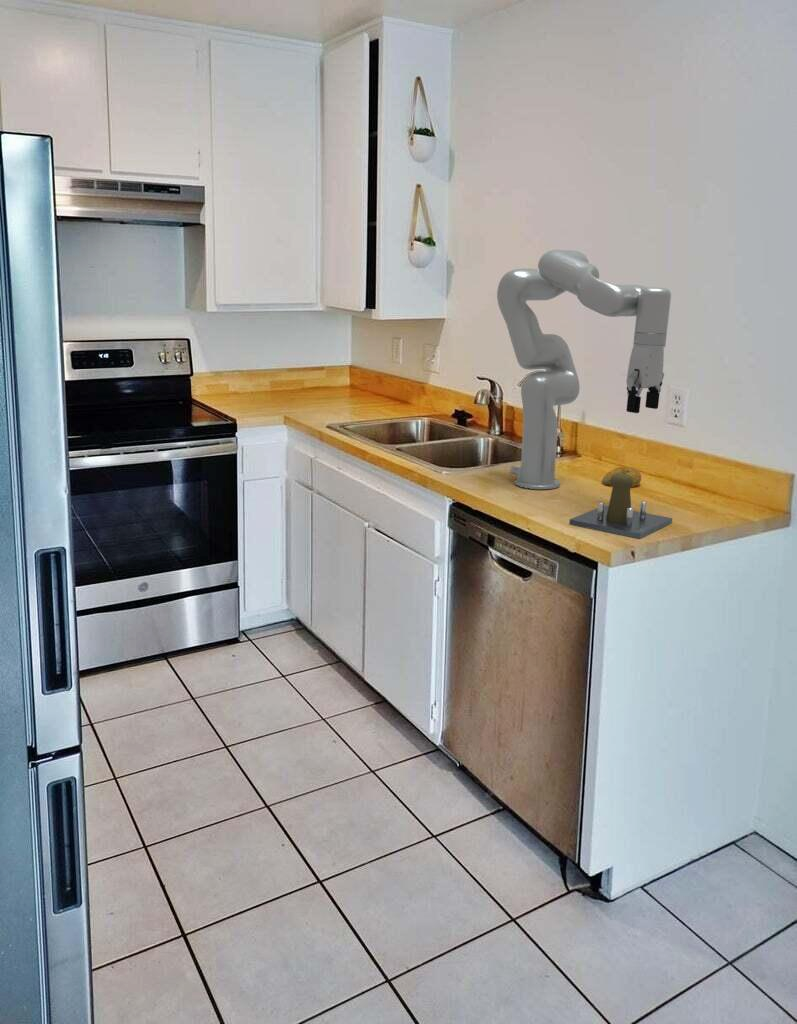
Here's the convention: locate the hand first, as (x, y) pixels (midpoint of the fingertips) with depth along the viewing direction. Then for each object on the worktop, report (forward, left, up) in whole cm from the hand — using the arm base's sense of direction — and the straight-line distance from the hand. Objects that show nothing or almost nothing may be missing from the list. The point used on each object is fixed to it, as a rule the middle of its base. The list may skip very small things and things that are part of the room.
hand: (642, 410), depth 225 cm
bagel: (-16, +25, -26) cm, 39 cm away
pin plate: (+3, -14, -26) cm, 29 cm away
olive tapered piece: (+3, -15, -25) cm, 29 cm away
